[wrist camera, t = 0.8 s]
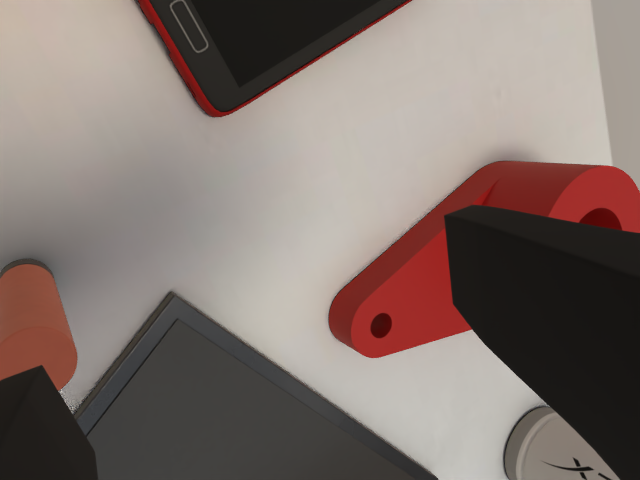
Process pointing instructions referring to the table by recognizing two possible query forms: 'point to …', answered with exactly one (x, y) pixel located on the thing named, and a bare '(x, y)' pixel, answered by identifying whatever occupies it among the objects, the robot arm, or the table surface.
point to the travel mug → (552, 451)
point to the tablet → (222, 414)
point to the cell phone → (254, 41)
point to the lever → (432, 256)
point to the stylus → (34, 323)
